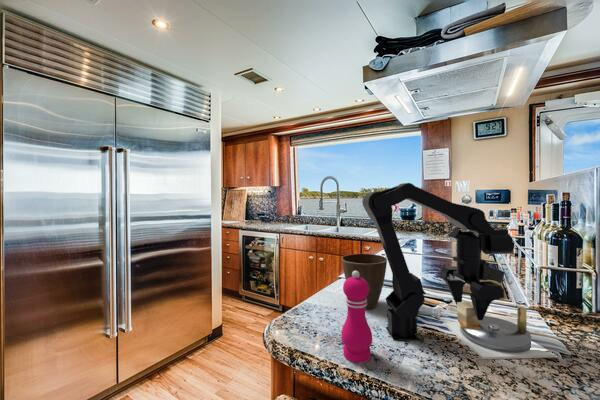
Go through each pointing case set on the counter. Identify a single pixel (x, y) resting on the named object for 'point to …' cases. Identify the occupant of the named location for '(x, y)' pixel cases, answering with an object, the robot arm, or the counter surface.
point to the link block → (467, 313)
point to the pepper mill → (356, 320)
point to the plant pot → (367, 273)
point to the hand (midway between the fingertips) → (468, 312)
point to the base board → (491, 353)
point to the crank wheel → (500, 333)
